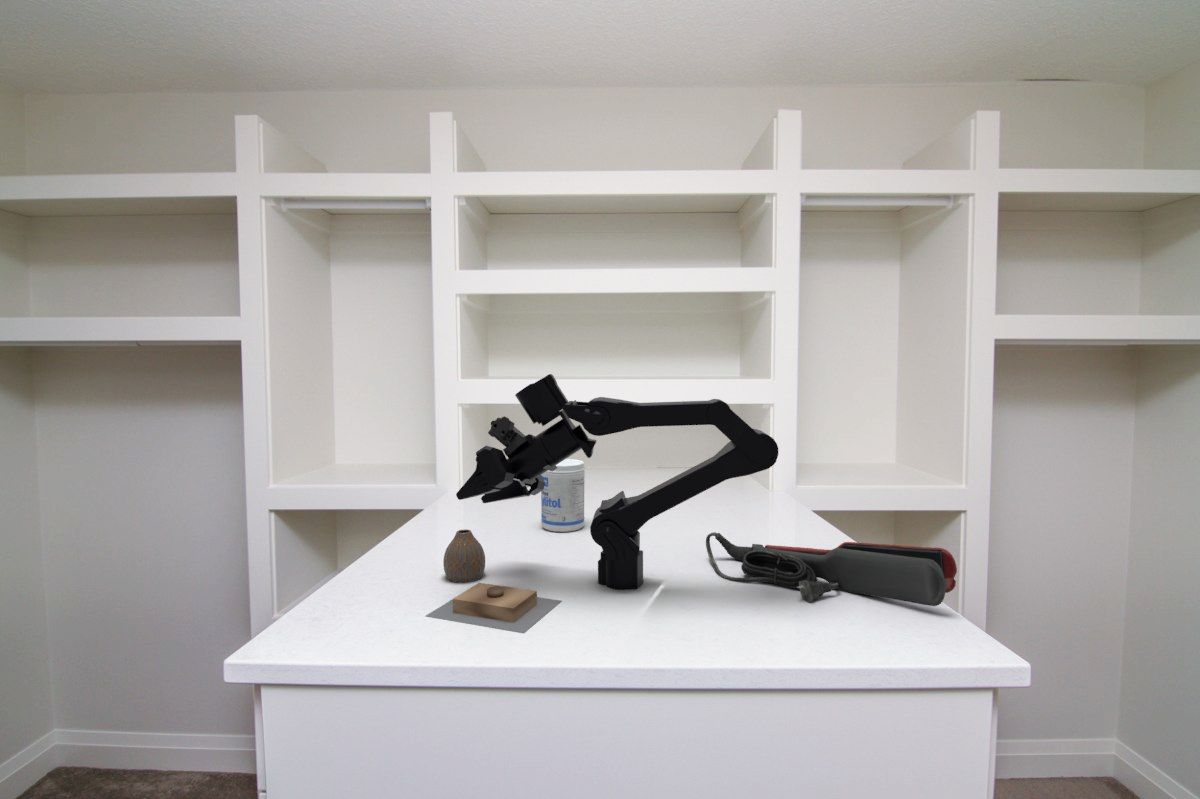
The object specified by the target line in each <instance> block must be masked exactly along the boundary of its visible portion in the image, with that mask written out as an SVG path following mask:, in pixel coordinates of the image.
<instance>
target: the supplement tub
mask: <svg viewBox="0 0 1200 799" xmlns="http://www.w3.org/2000/svg"><path fill="white" fill-rule="evenodd" d="M584 463H585V462H584V461H583V460H580V459H573V458H566V459H565V460H563V461H562V462H560V463H559V464H557V465H556V467H557V469H555V470H554V471H550V470H548V471H546V472H544V473H543V474H541V476H542V478H543V479H544V481H545V486H544V489H543V490H542V491H541V492H540V493H541V497H540V499H541V502H540V503H541V505H540V506H541V509H540V510H541V512H540V513H541V515H540V517H541V519H540V520H541V522H540V523H541V526H542V528H543V529H545V530H546V531H551V532H559V533H567V532H574V531H578V530H580V529H582V528H583V527H584V525H585V464H584Z"/></svg>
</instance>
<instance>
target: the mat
mask: <svg viewBox="0 0 1200 799" xmlns="http://www.w3.org/2000/svg"><path fill="white" fill-rule="evenodd" d="M562 602H563V600H561V599H560V600H559V599H554V598H548V597H547V598H546V597H540V596H537V604H536V605H535V606H534V607H533V608H531V609H530V610H529V611H528V612H526V613H525V614H524V615H523V616H521V617H520V618H519V619H517V620H516V621H515V622H508V621H502V620H496V619H490V618H484V617H478V616H472V615H466V614H460V613H454V612H453V598H452V599H450V600H449V601H448V602H446V603H444V604H442V605H441V606H439V607H438V608H436V609H434V610H432V611H431V612H429V613H427V614H426V615H425V617H427V618H432V619H437V620H444V621H449V622H455V623H462V624H467V625H472V626H473V625H474V626H478V627H484V628H488V629H496V630H502V631H507V632H514V633H519V634H525V633H527V632H528V631H529V630H530V629H531V628H533V626H535V625H536V624H537V623H538V622H540V621H541V619H543V618H544V617H545V616H546V615H548V614H549V613H550V612H552V610H554V609H555V608H556V607H557V606H558V605H560V604H561V603H562Z"/></svg>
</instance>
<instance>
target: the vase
mask: <svg viewBox="0 0 1200 799" xmlns="http://www.w3.org/2000/svg"><path fill="white" fill-rule="evenodd" d="M442 564H443V570H444V573H445V576H446V578H447V580H448V581H449V582H453V583H469V582H474V581H478V580H479V579H481V578H482V577H483V575H484V572H485V568H486V555H485V550H484V547H483V546H482V544H481V543H480V542H479V540H478V539H477V538H476V537H475V536H474V535H473V532H472V530H470V529H459V530H457V531H456V533H455V535H454V537H453V539H452V540H451V541H450V543H448V545H447V547H446V548H445V552H444V555H443V563H442Z"/></svg>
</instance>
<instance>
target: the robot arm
mask: <svg viewBox="0 0 1200 799" xmlns="http://www.w3.org/2000/svg"><path fill="white" fill-rule="evenodd" d="M514 396H515V397H516V399H517V401H518V402H519V403H520V405H521V407H522V408H523V410H524V411H525V412H526V414H527V416H528V417H529V419H530V420H531V421H532V422H531V423H532V424H533V425H535V424H536V423H537V424H538V425H541V426H542V427H545V426H546V425H547V424H549V423H550V422H552V421H553V420H555V419H557V418H558V417H560V418H561V419H560V420H558V421H557V422H555V423H553V425H550V426H549V427H547V428H545V429H544V430H543V431H542V432H540V433H539V434H537V435H533V434H530V433H529V434H524V433H523V432H522V431H521V430H520V429H518V428H517V427H516V426H515V422H513V421H511V420H510V418H509V417H507V416H501V417H497V418H496V419H495V420H491V422H490V425H491V426H490V429H489V430H488V432H487V433H488V435H489V436H491V437H492V438H495V439H496V440H497V441H498V442H499V443H501V445H503V447H504V448H503V449H499V448H496V447H493V446H490V445H484V446H483V447H482V448H480V449H478V450H477V451H476V452H475V456H476V457H475V461H476V467H475V470H474V472H473V473H472V474H471V475H470V477H468V479H467V480H466V481H465V483H464V484H463V485H462V486H461V488H460V489H459V490H458V491H457V492H456V494H455V495H456V498H457V500H459V501H461V500H462V501H463V500H466V499H470V498H474V497H475V498H476V497H478V496H481V497H480V500H481V502H482V503H483V504H488V503H494V502H499V501H506V500H512V499H518V498H519V499H520V498H526V497H531V496H536V495H538V494H539V493H541V491H542V490H543V489H544V486H545V481H544V479H543V478H542V476H541V474H543V473H544V472H546V471H548V470H550V471H554V470H555V469H557V467H556V465H557V464H559V463H560V462H562V461H563V460H565V459H569V457H571V456H573V455H574V454H575V453H578V452H579V451H581V450H582V451H583V453H584V455H585V457H586V458H588V459H590V458H592V456H593V454H594V449H595V448H594V447H595V445H596V444H597V440H596V439H592V438H589V436H588V434H590V435H592V436H597V437H601V436H606V435H612V434H617V433H620V432H625V431H628V430H633V429H635V428H636V429H637V428H642V427H643V428H646V427H647V428H648V427H680V426H681V427H682V426H707V425H709V426H710V425H711V426H714V427H715V428H717V429H718V430H719V431H720V432H721V433H722V434H724V436H725V437H727V439H728V440H730V441H729V442H727V443H726V444H725V445H724V446H723V447H722V448H721V449H719V451H717V453H716V454H714V455H713V456H712V457H709V458H708V459H706V460H704V461H701V462H700V463H698V464H696V465H694V466H692V467H690V468H689V469H687V470H684V471H683V472H681V473H679V474H677V475H675V476H673V477H671V478H669V479H667V480H666V481H664V482H662V483H660V484H658V485H656V486H654V487H652V488H651V489H647V490H646V491H644V492H642V493H641V494H638V495H635V496H629V497H626V495H625V491H624V490H621V491H620V492H618V493H617V494H615V495H614V496H613V497H611V498H608V499H603V500H601V504H600V506H599V507H598V508H597V509H596V510H595V512H594V515H593V517H592V521H591V524H590V527H589V528H590V530H589V531H590V536H591V538H592V540H593V541H594V542H595V543H596V544H597V545H598V546H599V547H601V549H602V551H600V559H598V560H597V584H599V585H601V586H605V587H607V588H609V589H611V590H615V591H616V590H618V591H627V590H628V591H629V590H638V589H640V587H641V586H642V585H643V584H644V550H641V549H640V548H641V547H640V546H641V544H640V543H641V540H640V539H641V533H640V531H639V530H640V529H641V528H642V527H643V526H644V525H645V524H646V523H647V522H648V521H650V520H652V519H654V518H655V517H657V516H659V515H661V514H662V513H665V512H667V511H668V510H671V509H673V508H674V507H676V506H679V505H680V504H683V503H684V502H687V501H688V500H690V499H691V498H694V497H695V496H697V495H700V494H702V493H703V492H705V491H708V490H709V489H711V488H713V487H716V486H717V485H719V484H721V483H722V482H725V481H726V480H729V479H734V478H741V477H746V476H750V475H753V474H756V473H760V472H762V471H763V472H764V471H766V470H768V469H770V468H771V467H772V466H774V465H775V464H776V462H777V459H778V456H779V446H778V443H777V441H775V439H774V437H772V436H770V435H769V434H767V433H765V432H764V431H762V430H760V429H757V428H752V427H751V426H750V425H749V424H748V423H747V422H746V421H745V420H743V419H742V418H741V417H740V416H739V415H738V414H736V412H734V411H733V410H732V409H731V408H730V405H729V404H728V403H727V402H725V401H723V400H721V399H719V398H711V399H710V400H709V399H708V400H687V401H683V400H682V401H658V402H657V401H655V402H637V401H629V400H624V399H619V398H611V397H605V396H598V397H594V398H592V399H590V400H589V401H577V400H568V399H567V397H566V395H565V394H564V392H563V391H562V389H561V387H560V386H559V384H558V381H557V380H556V378H555V376H554V375H553V374H552V373H550V374H547V375H546V376H544V377H542V378H541V379H539V380H537V381H535V382H534V383H530V384H528V385H527V386H525V387H524V388H522V389H521V390H519V391H518V392H517V393H515V395H514ZM572 420H573V421H575V422H577V423H580V424H578V425H575V424H574V423H573V422H572ZM581 425H582V426H581ZM584 430H585V431H586V432H585V431H584ZM587 433H588V434H587ZM528 488H529V489H528Z"/></svg>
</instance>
